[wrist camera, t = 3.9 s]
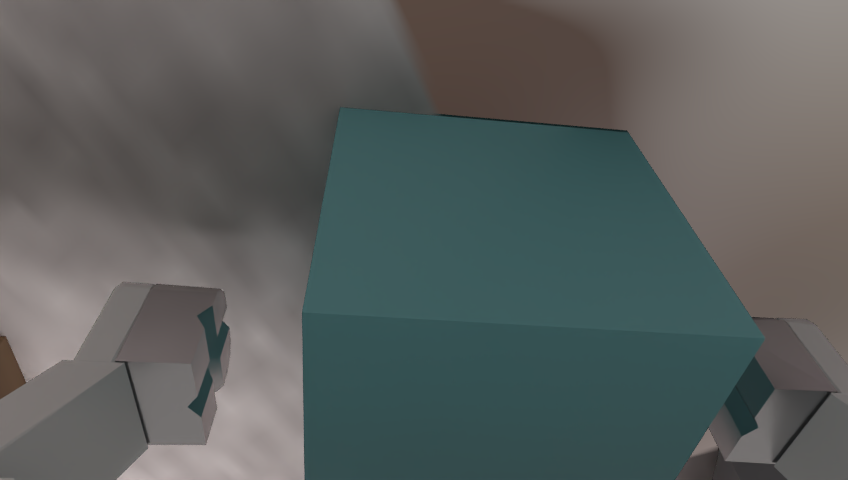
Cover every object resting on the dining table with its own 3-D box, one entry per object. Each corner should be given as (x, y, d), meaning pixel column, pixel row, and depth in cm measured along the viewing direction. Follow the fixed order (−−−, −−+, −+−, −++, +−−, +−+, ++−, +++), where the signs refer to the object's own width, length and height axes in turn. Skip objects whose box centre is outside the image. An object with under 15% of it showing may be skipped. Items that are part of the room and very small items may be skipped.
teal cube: (627, 130, 11) (765, 338, 7) (558, 331, 14) (624, 558, 10) (340, 104, 10) (302, 312, 6) (334, 319, 13) (305, 552, 9)
